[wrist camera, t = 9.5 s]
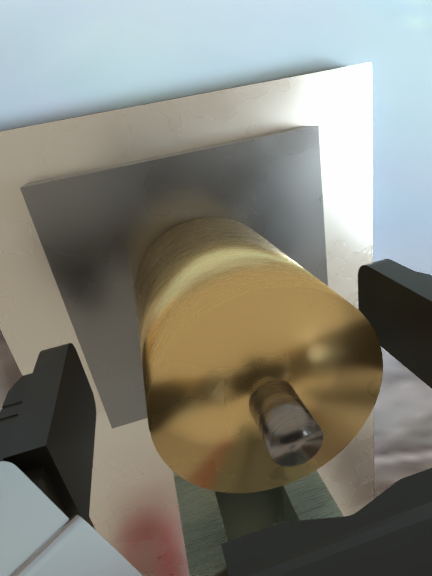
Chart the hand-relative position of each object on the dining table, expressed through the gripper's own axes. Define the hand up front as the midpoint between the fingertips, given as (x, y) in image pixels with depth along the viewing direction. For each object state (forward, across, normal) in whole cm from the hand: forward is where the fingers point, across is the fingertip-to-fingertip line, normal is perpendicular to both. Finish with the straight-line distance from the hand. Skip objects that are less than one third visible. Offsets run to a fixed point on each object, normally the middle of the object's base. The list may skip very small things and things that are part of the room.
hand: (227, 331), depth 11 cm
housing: (+3, 0, 0) cm, 3 cm away
